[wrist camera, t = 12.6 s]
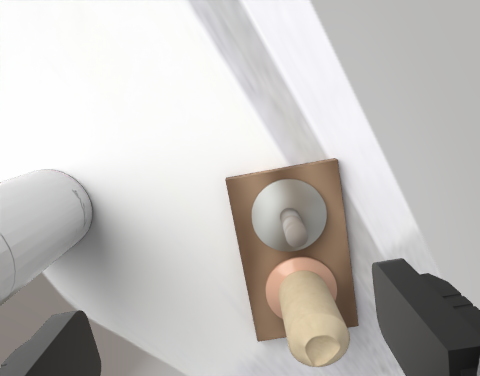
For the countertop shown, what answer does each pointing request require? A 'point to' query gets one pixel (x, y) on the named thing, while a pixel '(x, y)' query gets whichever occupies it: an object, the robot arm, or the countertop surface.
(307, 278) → the candle
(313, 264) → the pad
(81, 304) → the countertop surface
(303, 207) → the board
